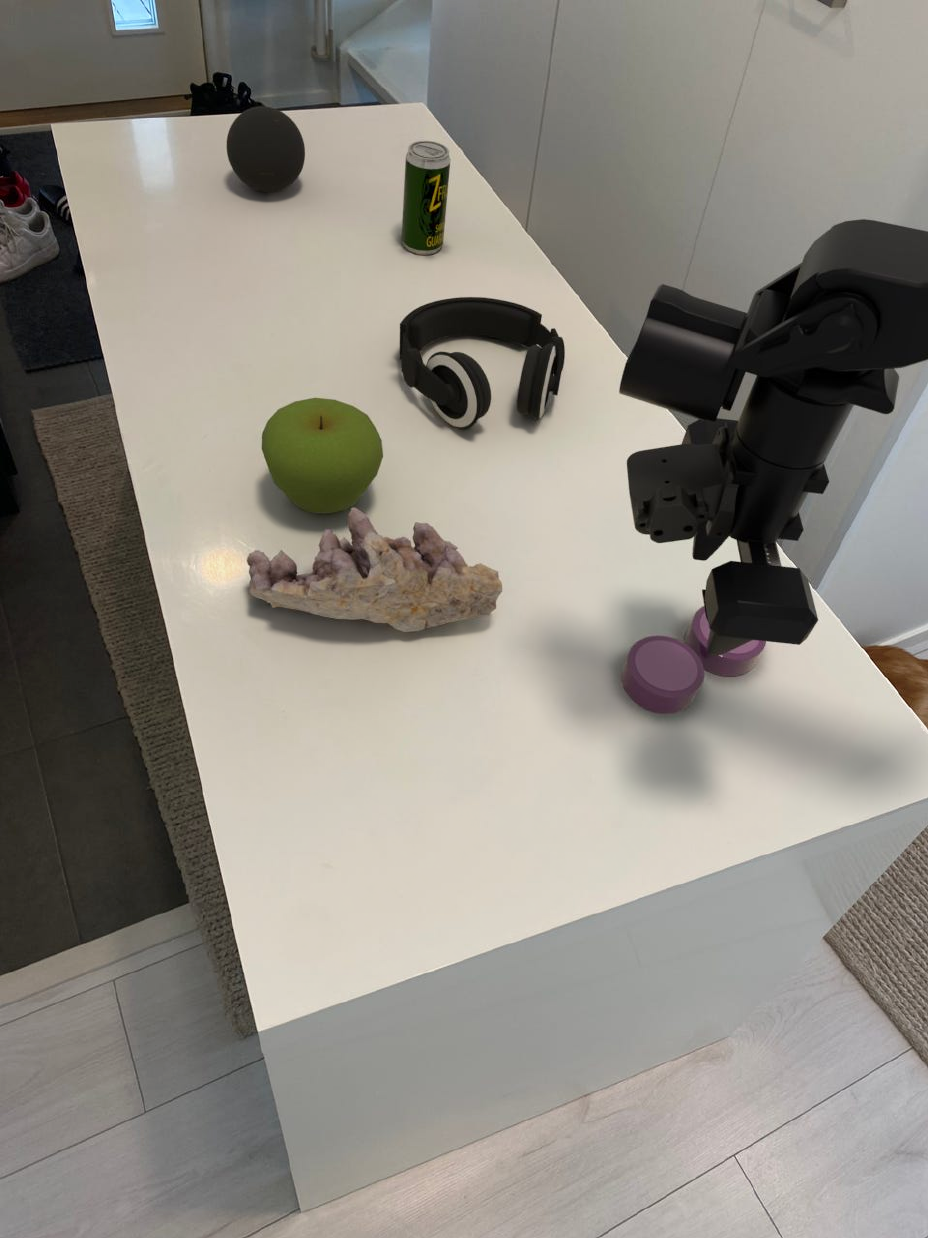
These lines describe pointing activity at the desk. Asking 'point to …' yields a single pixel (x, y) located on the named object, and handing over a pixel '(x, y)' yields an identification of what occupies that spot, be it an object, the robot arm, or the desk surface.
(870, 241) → the robot arm
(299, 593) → the mineral specimen
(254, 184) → the speaker
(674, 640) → the dish
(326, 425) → the apple
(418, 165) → the green energy drink can
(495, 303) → the headphones
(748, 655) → the dish
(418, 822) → the desk surface
